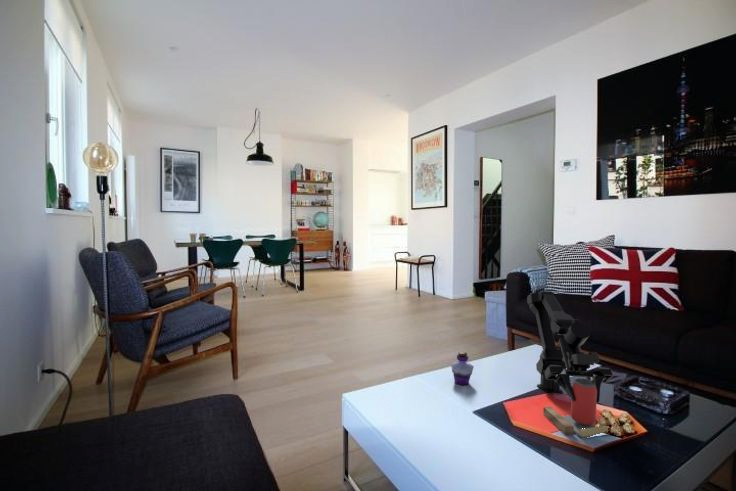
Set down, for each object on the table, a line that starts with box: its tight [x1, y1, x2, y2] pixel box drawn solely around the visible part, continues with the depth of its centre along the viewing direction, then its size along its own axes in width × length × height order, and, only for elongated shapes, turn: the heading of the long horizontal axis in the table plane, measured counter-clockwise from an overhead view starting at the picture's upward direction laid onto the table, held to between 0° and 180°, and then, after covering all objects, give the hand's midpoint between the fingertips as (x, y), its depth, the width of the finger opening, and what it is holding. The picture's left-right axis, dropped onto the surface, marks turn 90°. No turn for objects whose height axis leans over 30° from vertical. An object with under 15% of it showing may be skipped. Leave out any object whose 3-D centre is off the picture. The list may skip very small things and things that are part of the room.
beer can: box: [570, 378, 598, 425], centre depth 113 cm, size 7×7×12 cm
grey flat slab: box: [561, 414, 610, 439], centre depth 114 cm, size 11×11×2 cm
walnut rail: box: [542, 406, 575, 436], centre depth 115 cm, size 12×2×2 cm, turn 4°
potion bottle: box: [450, 351, 474, 387], centre depth 144 cm, size 9×9×12 cm
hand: (586, 401), depth 112 cm, fingers closed on beer can, 6 cm apart
